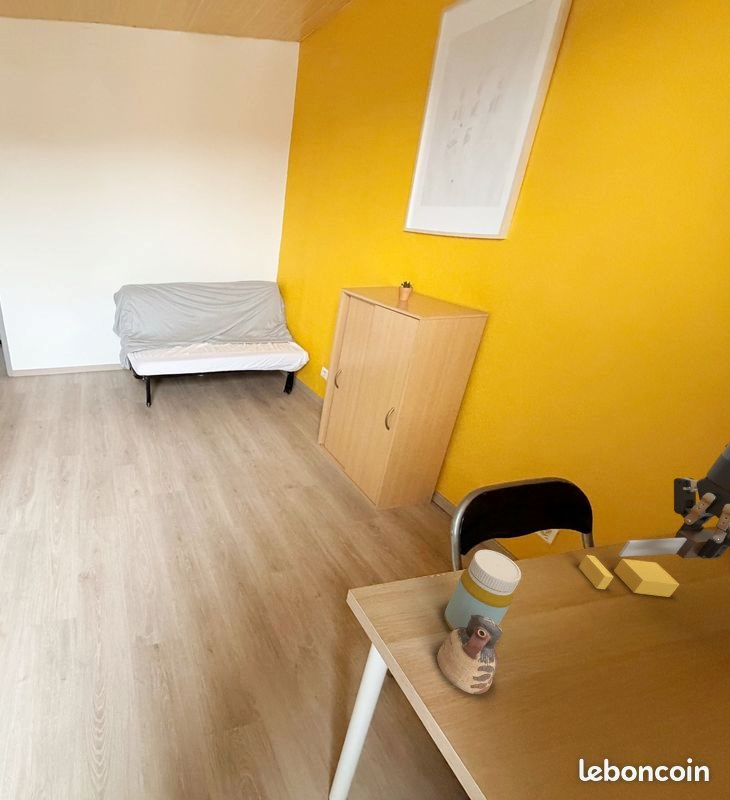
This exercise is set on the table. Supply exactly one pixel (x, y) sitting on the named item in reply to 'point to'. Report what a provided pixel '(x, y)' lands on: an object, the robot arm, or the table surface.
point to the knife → (670, 545)
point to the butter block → (646, 577)
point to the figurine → (471, 655)
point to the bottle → (483, 589)
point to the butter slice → (595, 572)
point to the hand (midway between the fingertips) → (693, 549)
